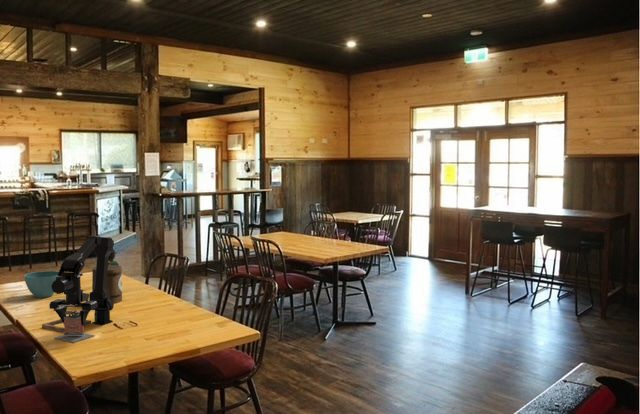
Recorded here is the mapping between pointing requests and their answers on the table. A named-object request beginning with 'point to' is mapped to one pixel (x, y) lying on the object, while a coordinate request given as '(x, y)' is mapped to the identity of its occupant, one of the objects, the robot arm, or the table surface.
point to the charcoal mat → (74, 337)
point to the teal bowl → (41, 283)
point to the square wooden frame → (56, 328)
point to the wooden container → (112, 282)
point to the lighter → (73, 324)
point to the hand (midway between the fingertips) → (74, 324)
